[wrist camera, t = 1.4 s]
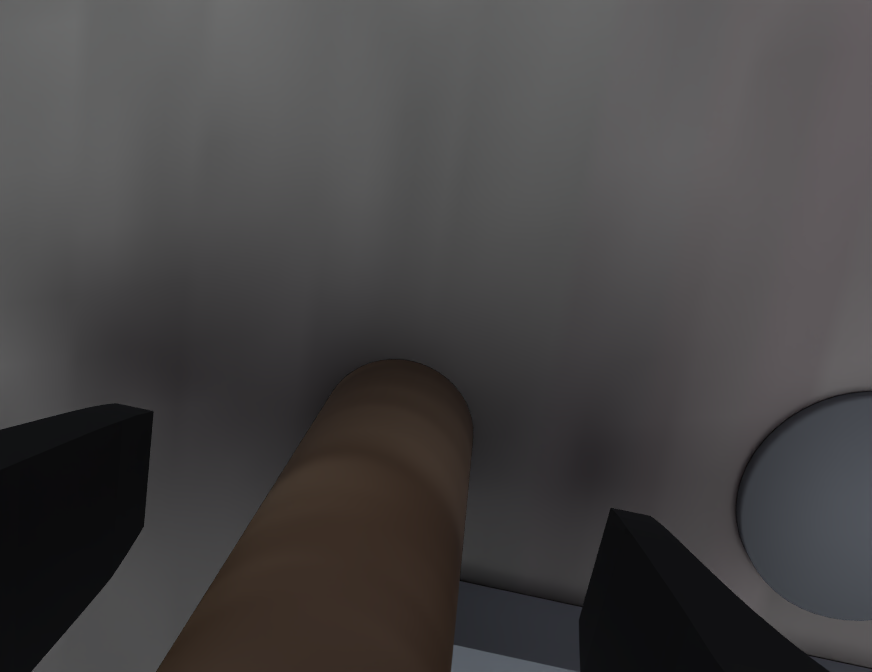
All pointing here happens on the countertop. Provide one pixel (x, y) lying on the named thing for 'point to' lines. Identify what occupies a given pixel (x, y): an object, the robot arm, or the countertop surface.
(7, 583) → the robot arm
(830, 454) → the coaster
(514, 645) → the grey fixture with socket
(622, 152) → the countertop surface
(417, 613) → the dowel
